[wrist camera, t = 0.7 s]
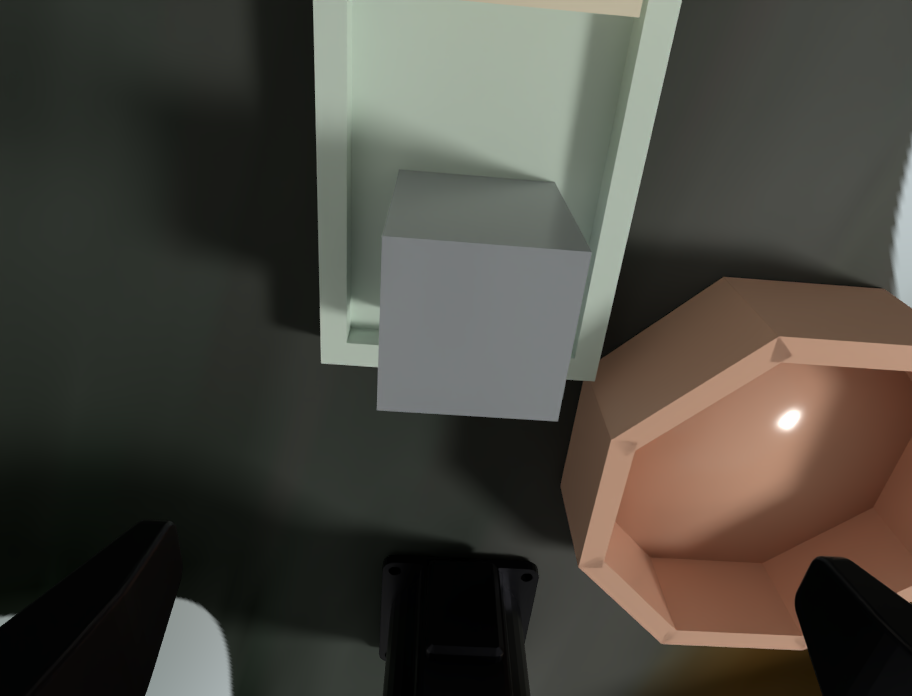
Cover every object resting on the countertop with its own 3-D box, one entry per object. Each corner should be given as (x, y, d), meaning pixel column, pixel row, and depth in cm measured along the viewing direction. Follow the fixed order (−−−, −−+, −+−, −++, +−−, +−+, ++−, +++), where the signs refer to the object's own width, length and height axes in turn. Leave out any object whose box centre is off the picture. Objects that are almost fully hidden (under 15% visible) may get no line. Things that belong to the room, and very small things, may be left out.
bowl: (843, 570, 28) (900, 654, 24) (545, 554, 27) (559, 639, 24) (994, 297, 21) (1101, 358, 18) (607, 268, 21) (640, 326, 17)
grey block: (532, 320, 21) (557, 421, 16) (393, 310, 21) (376, 410, 16) (554, 182, 19) (591, 252, 14) (399, 169, 18) (381, 236, 14)
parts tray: (585, 356, 22) (594, 381, 21) (329, 338, 22) (321, 363, 20) (726, -299, 14) (757, -329, 13) (319, -349, 14) (303, -387, 12)
